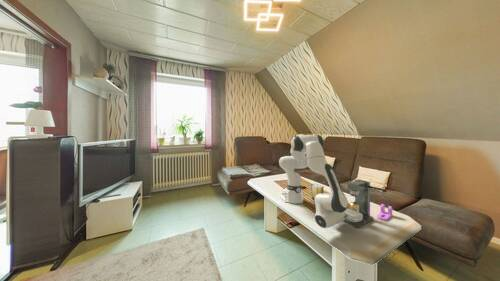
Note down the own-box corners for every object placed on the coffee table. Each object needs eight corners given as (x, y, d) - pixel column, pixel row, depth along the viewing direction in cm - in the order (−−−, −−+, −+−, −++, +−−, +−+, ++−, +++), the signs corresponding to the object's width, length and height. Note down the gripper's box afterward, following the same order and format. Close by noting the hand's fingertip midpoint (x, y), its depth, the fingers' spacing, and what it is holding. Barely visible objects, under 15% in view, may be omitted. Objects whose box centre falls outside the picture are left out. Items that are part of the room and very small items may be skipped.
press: (373, 234, 97) (373, 191, 96) (339, 219, 114) (339, 182, 113) (387, 225, 106) (387, 185, 105) (354, 213, 123) (354, 178, 122)
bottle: (348, 216, 113) (348, 200, 113) (353, 214, 115) (354, 199, 115) (355, 219, 109) (355, 203, 108) (360, 218, 110) (361, 202, 110)
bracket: (382, 212, 122) (382, 203, 122) (392, 215, 118) (392, 205, 118) (375, 218, 115) (375, 208, 114) (385, 221, 110) (386, 211, 110)
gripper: (355, 215, 93) (368, 209, 100) (322, 203, 110) (335, 198, 117) (355, 227, 93) (368, 220, 100) (322, 212, 110) (335, 207, 117)
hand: (350, 208), depth 109 cm, fingers open, 8 cm apart
